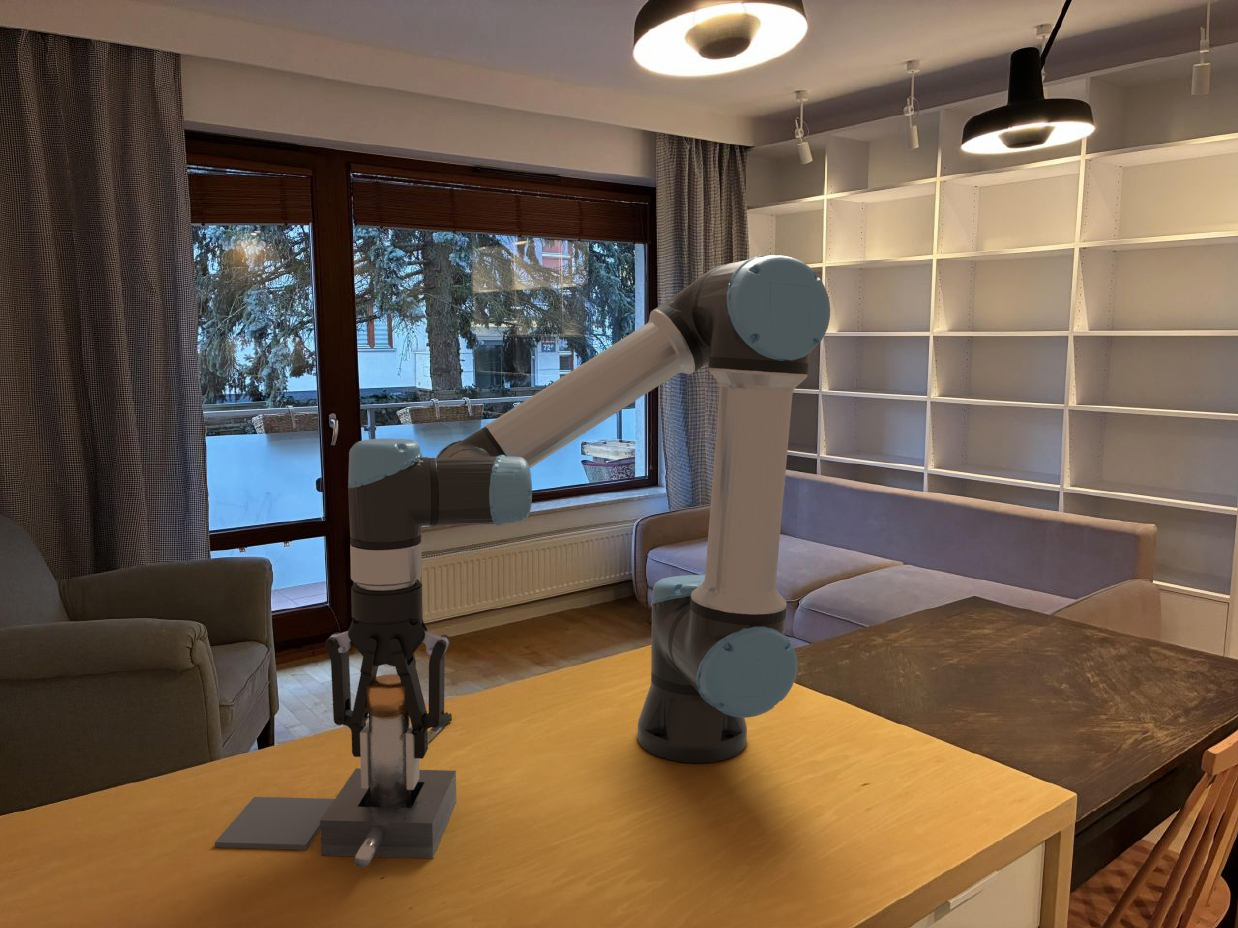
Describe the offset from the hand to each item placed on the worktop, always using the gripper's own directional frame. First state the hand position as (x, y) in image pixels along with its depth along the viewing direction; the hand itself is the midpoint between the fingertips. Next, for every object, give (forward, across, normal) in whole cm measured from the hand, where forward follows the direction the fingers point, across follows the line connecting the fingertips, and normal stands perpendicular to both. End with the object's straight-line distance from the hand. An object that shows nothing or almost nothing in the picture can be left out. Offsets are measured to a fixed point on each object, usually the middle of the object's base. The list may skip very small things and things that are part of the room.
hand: (390, 782), depth 103 cm
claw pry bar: (+6, +1, -20) cm, 21 cm away
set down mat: (+5, +13, 0) cm, 14 cm away
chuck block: (+5, 0, +3) cm, 6 cm away
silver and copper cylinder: (+3, 0, 0) cm, 3 cm away
